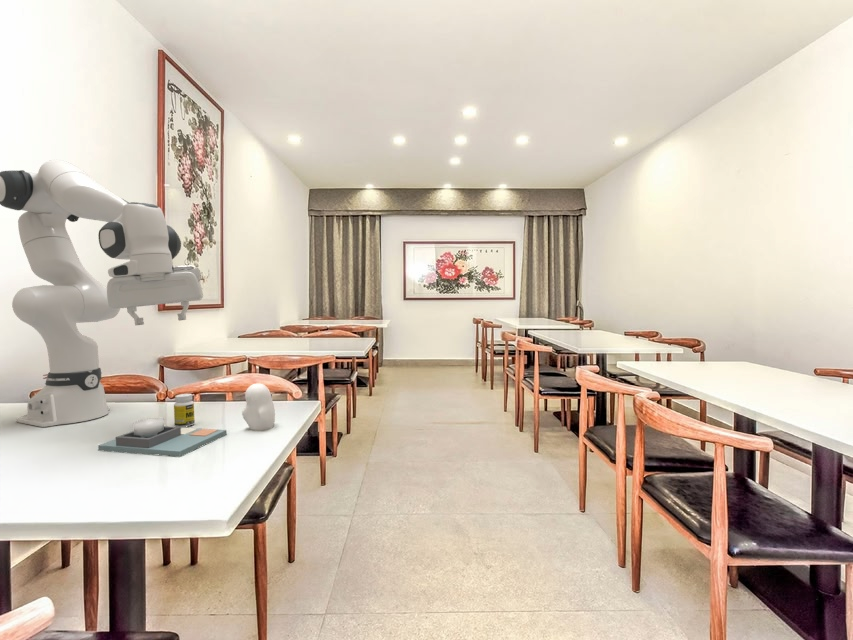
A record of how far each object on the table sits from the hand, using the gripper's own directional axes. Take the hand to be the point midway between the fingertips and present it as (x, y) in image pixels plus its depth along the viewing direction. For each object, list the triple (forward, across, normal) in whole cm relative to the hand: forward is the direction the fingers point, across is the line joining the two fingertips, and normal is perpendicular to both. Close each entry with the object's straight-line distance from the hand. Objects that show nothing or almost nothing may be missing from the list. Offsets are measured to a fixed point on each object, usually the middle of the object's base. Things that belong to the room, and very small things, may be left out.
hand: (161, 322), depth 105 cm
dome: (+27, +4, +7) cm, 28 cm away
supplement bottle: (+29, 0, -8) cm, 30 cm away
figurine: (+31, -20, +2) cm, 37 cm away
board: (+29, +1, +6) cm, 29 cm away
